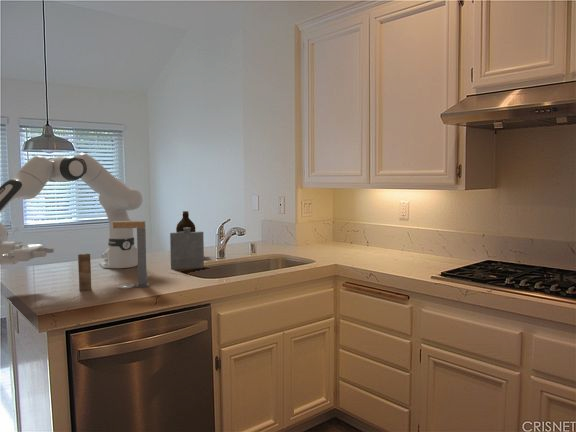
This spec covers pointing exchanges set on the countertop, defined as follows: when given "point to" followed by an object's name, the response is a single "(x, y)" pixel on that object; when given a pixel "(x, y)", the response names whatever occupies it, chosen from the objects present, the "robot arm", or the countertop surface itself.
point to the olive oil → (185, 223)
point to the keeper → (140, 249)
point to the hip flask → (187, 249)
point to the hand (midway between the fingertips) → (49, 252)
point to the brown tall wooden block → (84, 272)
